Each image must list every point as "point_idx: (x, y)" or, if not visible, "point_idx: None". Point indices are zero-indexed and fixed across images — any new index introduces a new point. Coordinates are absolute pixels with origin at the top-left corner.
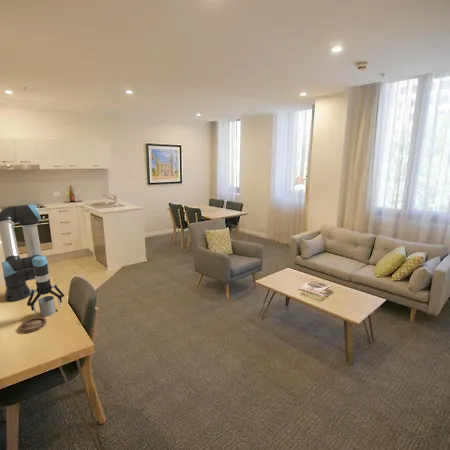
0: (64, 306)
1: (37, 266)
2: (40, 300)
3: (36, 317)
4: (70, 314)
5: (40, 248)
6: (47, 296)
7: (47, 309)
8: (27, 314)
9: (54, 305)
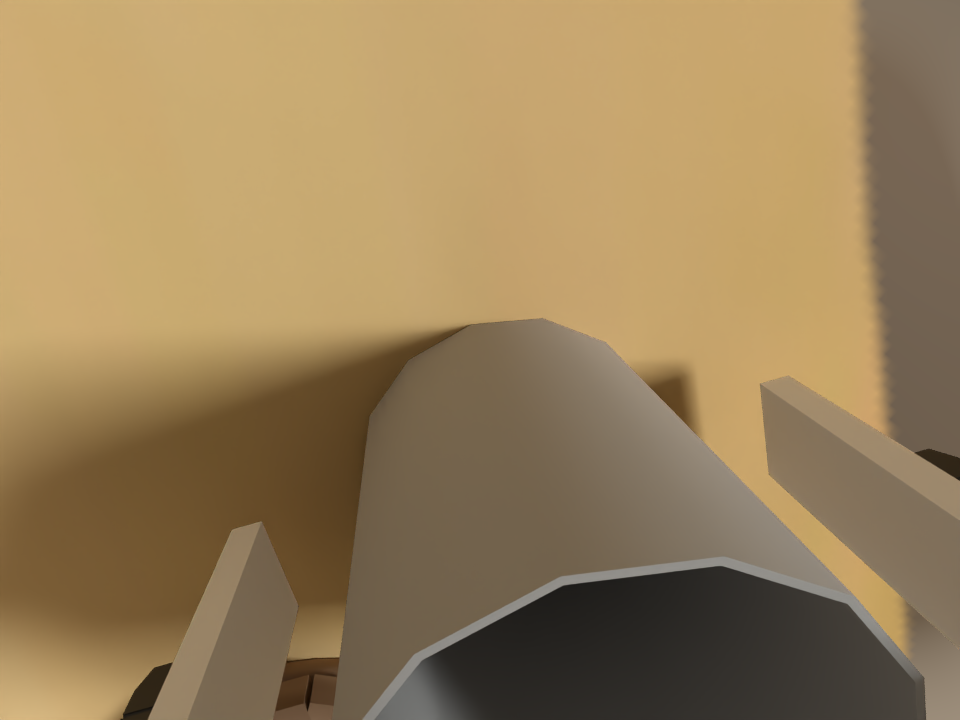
0: (836, 282)
1: None
2: (366, 650)
3: (330, 707)
4: (888, 635)
5: None
6: (675, 551)
7: (568, 712)
8: (31, 369)
9: (731, 577)
